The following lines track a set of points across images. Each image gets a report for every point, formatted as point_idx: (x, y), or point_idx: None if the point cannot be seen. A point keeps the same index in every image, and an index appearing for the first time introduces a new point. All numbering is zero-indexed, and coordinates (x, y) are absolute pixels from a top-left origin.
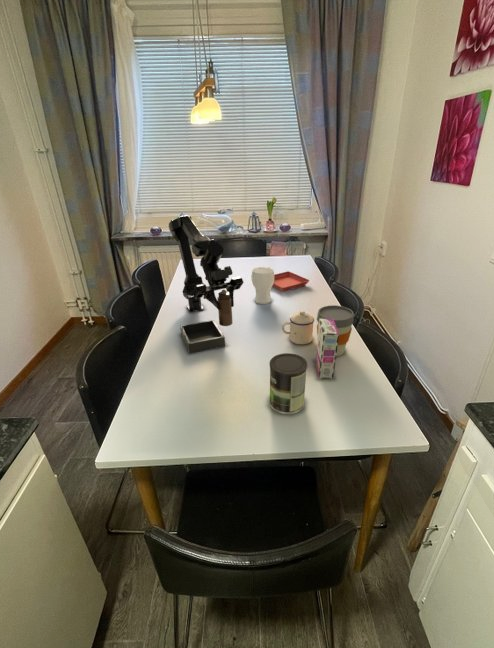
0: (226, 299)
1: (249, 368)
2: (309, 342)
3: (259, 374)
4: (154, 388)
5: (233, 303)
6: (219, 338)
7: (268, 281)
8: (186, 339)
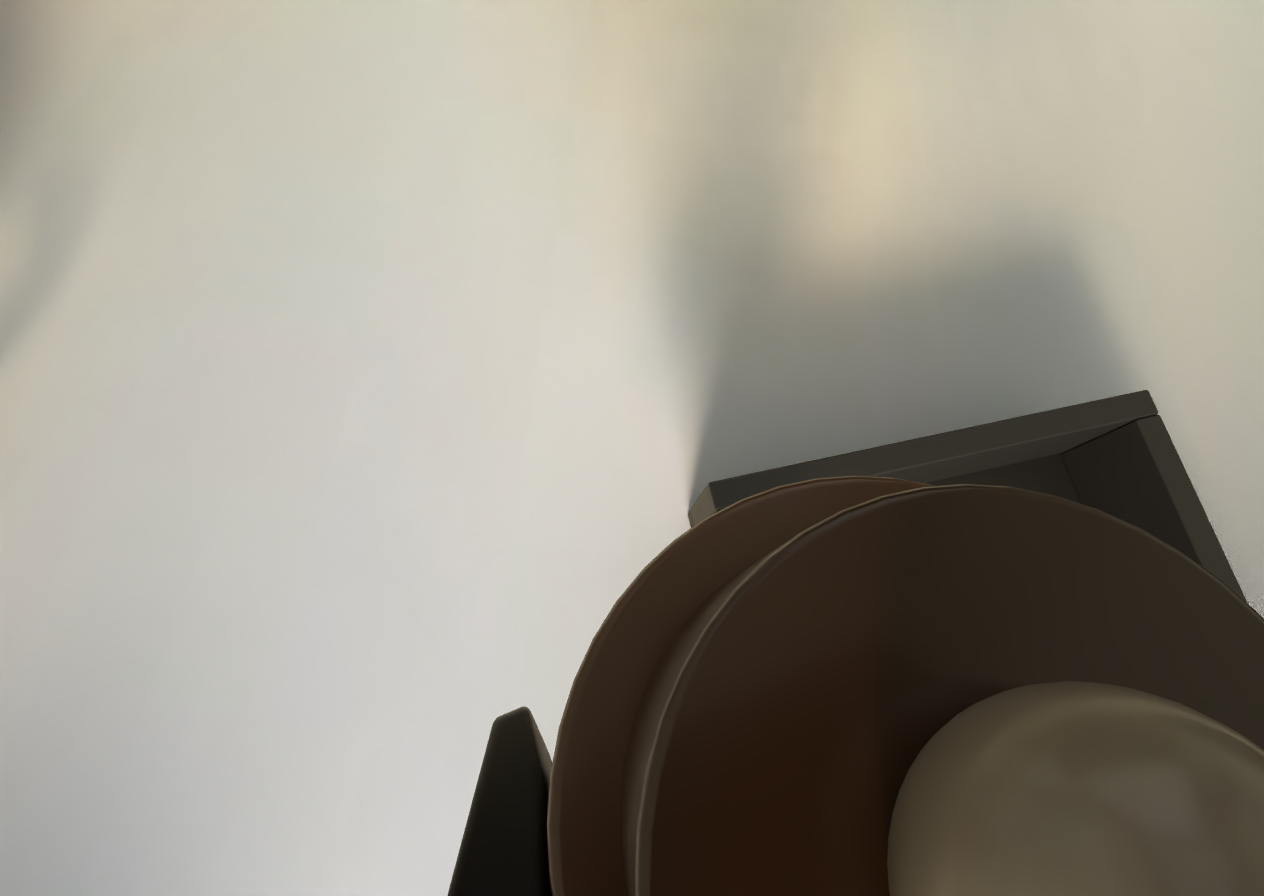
0: (787, 537)
1: (492, 97)
2: None
3: (427, 11)
4: (1209, 20)
5: (483, 769)
6: (775, 468)
7: None
8: (1198, 505)
